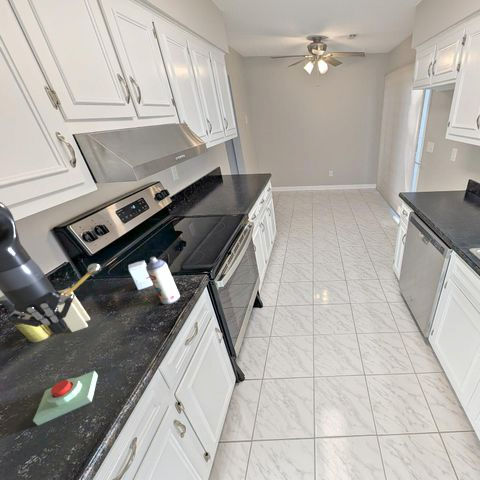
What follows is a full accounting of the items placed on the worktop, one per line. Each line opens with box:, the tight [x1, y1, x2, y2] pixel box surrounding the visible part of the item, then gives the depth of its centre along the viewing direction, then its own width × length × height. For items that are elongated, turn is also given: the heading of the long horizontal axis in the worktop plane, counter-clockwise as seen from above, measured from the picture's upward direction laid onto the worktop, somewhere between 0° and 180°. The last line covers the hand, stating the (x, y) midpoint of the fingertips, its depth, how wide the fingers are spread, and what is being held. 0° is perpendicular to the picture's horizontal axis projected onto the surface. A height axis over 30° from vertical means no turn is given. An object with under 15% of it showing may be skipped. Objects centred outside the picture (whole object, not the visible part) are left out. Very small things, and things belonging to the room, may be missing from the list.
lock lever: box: [61, 263, 102, 296], centre depth 87 cm, size 17×4×4 cm
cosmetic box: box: [128, 260, 154, 291], centre depth 110 cm, size 6×4×12 cm
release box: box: [32, 370, 99, 426], centre depth 68 cm, size 11×9×4 cm
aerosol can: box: [146, 256, 181, 306], centre depth 99 cm, size 7×7×20 cm
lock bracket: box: [57, 287, 91, 333], centre depth 89 cm, size 9×8×16 cm
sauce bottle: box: [0, 294, 54, 344], centre depth 85 cm, size 7×6×20 cm
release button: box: [51, 379, 72, 397], centre depth 67 cm, size 4×4×2 cm
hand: (61, 331), depth 69 cm, fingers closed
